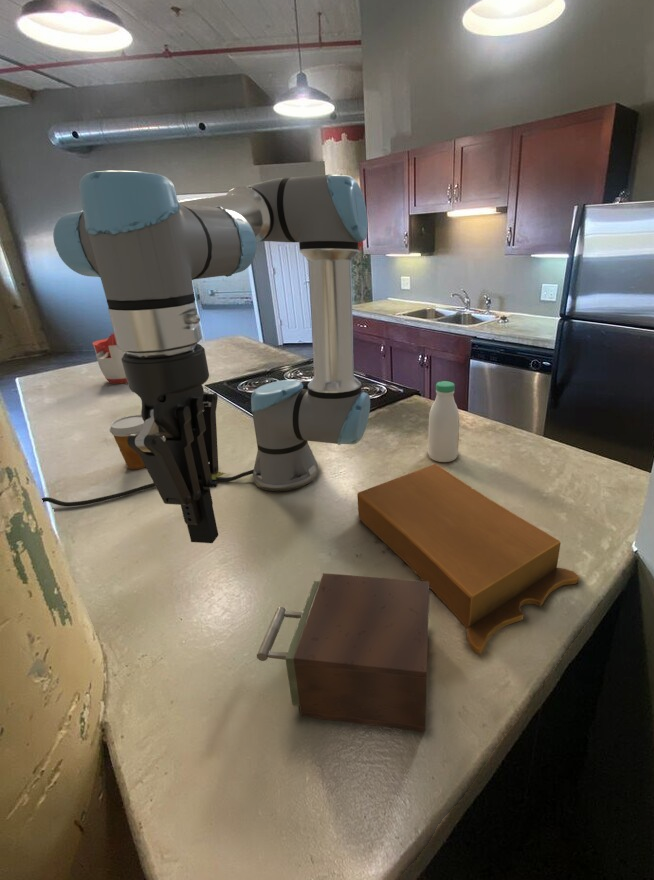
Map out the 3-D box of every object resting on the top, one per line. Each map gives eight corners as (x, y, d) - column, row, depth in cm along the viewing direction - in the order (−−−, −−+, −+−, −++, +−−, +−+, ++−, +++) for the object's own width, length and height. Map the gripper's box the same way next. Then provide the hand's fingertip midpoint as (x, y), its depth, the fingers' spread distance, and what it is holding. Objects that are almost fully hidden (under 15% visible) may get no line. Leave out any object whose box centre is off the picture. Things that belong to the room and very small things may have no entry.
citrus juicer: (90, 386, 168) (76, 338, 161) (122, 373, 184) (110, 329, 177) (124, 388, 166) (111, 338, 159) (153, 375, 182) (143, 329, 175)
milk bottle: (457, 464, 105) (460, 389, 98) (426, 461, 106) (428, 387, 99) (458, 450, 112) (461, 379, 105) (429, 447, 113) (431, 378, 106)
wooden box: (440, 461, 94) (585, 549, 66) (440, 486, 96) (579, 581, 68) (350, 495, 82) (480, 619, 54) (351, 523, 84) (477, 655, 56)
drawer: (253, 700, 51) (244, 654, 48) (285, 619, 61) (279, 578, 58) (404, 718, 48) (404, 670, 46) (411, 631, 59) (411, 588, 56)
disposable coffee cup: (169, 458, 110) (160, 417, 106) (136, 475, 102) (124, 431, 98) (145, 451, 114) (135, 411, 110) (111, 468, 106) (99, 425, 102)
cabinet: (300, 716, 50) (293, 658, 46) (327, 624, 61) (322, 572, 58) (425, 731, 48) (426, 672, 44) (427, 634, 60) (429, 581, 56)
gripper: (157, 367, 35) (206, 582, 44) (228, 333, 47) (256, 507, 56) (77, 365, 36) (140, 577, 45) (167, 333, 48) (203, 504, 57)
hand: (204, 538), depth 50 cm, fingers closed
